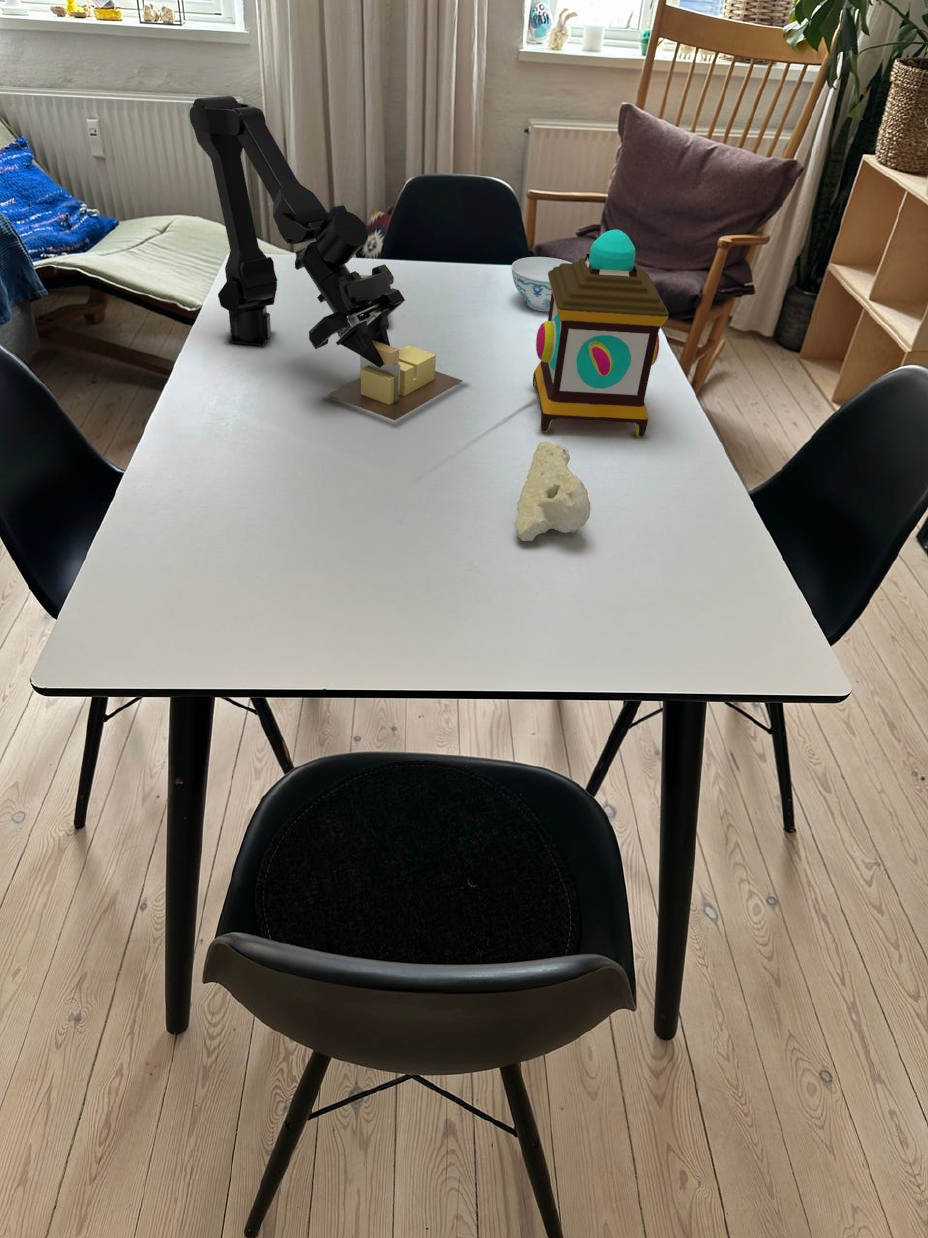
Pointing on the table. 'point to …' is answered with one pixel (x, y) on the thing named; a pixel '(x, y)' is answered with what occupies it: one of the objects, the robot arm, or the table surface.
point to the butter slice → (377, 385)
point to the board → (406, 403)
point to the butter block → (415, 368)
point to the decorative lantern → (599, 337)
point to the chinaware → (535, 280)
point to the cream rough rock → (551, 495)
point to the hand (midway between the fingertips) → (386, 363)
